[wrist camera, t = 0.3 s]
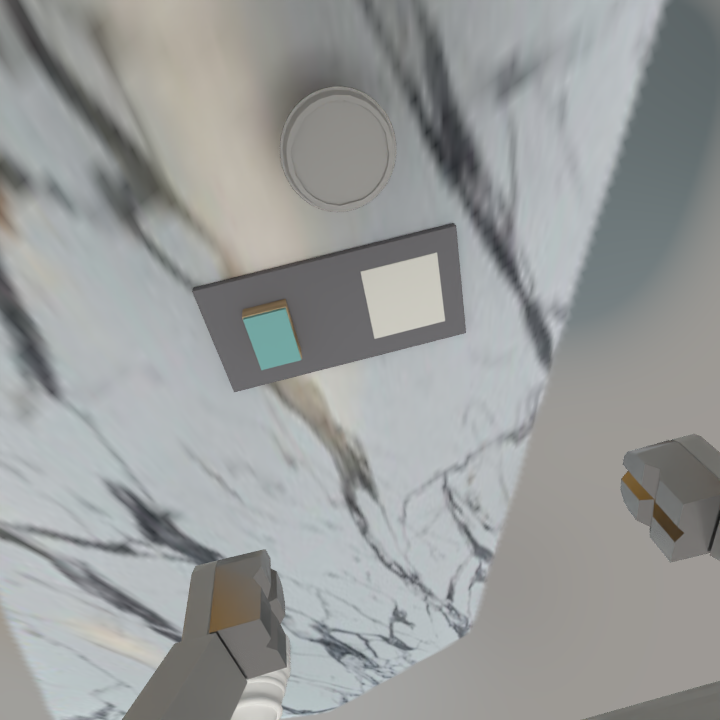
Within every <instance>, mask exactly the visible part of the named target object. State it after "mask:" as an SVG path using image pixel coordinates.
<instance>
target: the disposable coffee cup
mask: <svg viewBox="0 0 720 720" xmlns="http://www.w3.org/2000/svg"><path fill="white" fill-rule="evenodd" d="M280 158H281V164H282V168H283V171H284V174H285V176H286V178H287V180H288V182H289V184H290V185H291V187H292V189H293V190H294V191H295V192H296V193H297V194H298V195H299V196H300V197H301V198H302V199H303V200H305V201H306V202H307V203H309V204H310V205H312V206H314V207H316V208H318V209H322V210H326V211H330V212H345V211H350V210H354V209H357V208H360V207H362V206H364V205H366V204H367V203H369V202H370V201H372V200H373V199H374V198H375V197H376V196H377V195H378V194H379V193H380V192H381V191H382V190H383V188H384V187H385V186H386V184H387V182H388V180H389V178H390V176H391V174H392V171H393V168H394V165H395V158H396V139H395V133H394V130H393V127H392V124H391V122H390V120H389V118H388V116H387V114H386V112H385V111H384V110H383V109H382V108H381V106H380V105H379V104H378V103H377V102H376V101H375V100H374V99H372V98H371V97H370V96H368V95H367V94H365V93H363V92H361V91H359V90H356V89H354V88H349V87H342V86H337V87H326V88H324V89H321V90H318V91H315V92H313V93H311V94H310V95H308V96H307V97H305V98H304V99H302V100H301V101H300V102H299V103H298V104H297V105H296V106H295V107H294V109H293V110H292V112H291V113H290V115H289V116H288V118H287V120H286V123H285V125H284V127H283V131H282V135H281V140H280Z"/></svg>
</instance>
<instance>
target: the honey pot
mask: <svg viewBox="0 0 720 720" xmlns="http://www.w3.org/2000/svg"><path fill="white" fill-rule="evenodd" d="M285 635H286V634H285ZM286 655H287V668H283V669H280V670H277V671H274V672H270V673H267V674H264V675H261V676H257V677H254V678H251V679H247V682H248V683H247V685H246V687H245V689H244V691H243V694H242V696H241V698H240V700H239V702H238V704H237V707H236V709H235V711H234V713H233V715H232V718H231V720H279V719H280V717H281V716H282V711H283V709H282V706H281V703H282V699H283V697H284V696H285V691H286V687H287V680H288V678H289V677H290V670H291V667H290V663H291V662H290V641H289V638H288V636H287V635H286Z"/></svg>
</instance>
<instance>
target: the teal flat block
mask: <svg viewBox="0 0 720 720" xmlns="http://www.w3.org/2000/svg"><path fill="white" fill-rule="evenodd" d="M242 319H243V322H244V324H245V327H246V330H247V332H248V335H249V338H250V340H251V343H252V346H253V349H254V351H255V354H256V357H257V359H258V362H259V365H260V368H261V370H264V369H268V368H272V367H276V366H280V365H284V364H288V363H292V362H296V361H300V360H301V359H302V352H301V347H300V344H299V341H298V338H297V334H296V331H295V328H294V325H293V321H292V318H291V315H290V312H289V308H288V305H287V302H286V299H283V300H279V301H275V302H271V303H267V304H263V305H259V306H255V307H251V308H247V309H243V311H242Z"/></svg>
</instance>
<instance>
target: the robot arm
mask: <svg viewBox="0 0 720 720" xmlns="http://www.w3.org/2000/svg"><path fill="white" fill-rule="evenodd" d="M623 465H624V466H625V467H626V469H627V470H628V471H627V473H626V474H625V475H624V476H623V478H622V479H621V493H622V496H623V499H624V502H625V504H626V506H627V508H628V510H629V511H630V512H631V514H632V515H633V516H634V518H635V519H636V520H637V521H639V522H641V523H643V524H646V525H648V526H650V538H651V539H652V540H653V541H654V543H655V544H656V545H657V546H658V548H659V549H660V550H661V551H662V553H663V554H664V555H665V556H666V557H667V559H668V560H669V561H670V562H674V561H678V560H682V559H687V558H691V557H695V556H699V555H703V554H707V553H710V556H712V557H714V558H716V559H717V560H719V561H720V452H719V451H717V450H716V449H715V448H714V447H713V446H712V445H710V444H709V443H708V442H707V441H706V440H705V439H703V438H702V437H701V436H699V435H696V434H692V435H688V436H684V437H680V438H677V439H673V440H668V441H664V442H660V443H657V444H654V445H650V446H646V447H643V448H639V449H635V450H632V451H628V452H627V453H626V455H625V456H624V462H623ZM284 617H285V600H284V594H283V588H282V585H281V581H280V578H279V576H278V574H277V571H275V570H273V569H271V560H270V557H269V555H268V553H267V551H266V549H265V550H259V551H255V552H251V553H247V554H243V555H239V556H234V557H230V558H226V559H222V560H218V561H214V562H210V563H206V564H202V565H198V566H195V568H194V570H193V573H192V575H191V582H190V588H189V595H188V602H187V608H186V615H185V621H184V628H183V635H182V641H181V642H179V643H176V644H174V645H173V647H172V648H171V650H170V651H169V652H168V654H167V655H166V657H165V658H164V660H163V661H162V663H161V664H160V665H159V667H158V668H157V670H156V671H155V673H154V674H153V676H152V677H151V678H150V680H149V681H148V683H147V684H146V686H145V687H144V689H143V690H142V691H141V693H140V694H139V696H138V697H137V699H136V700H135V702H134V703H133V704H132V706H131V707H130V709H129V710H128V712H127V713H126V715H125V716H124V717H123V719H122V720H231V718H232V715H233V713H234V711H235V709H236V707H237V704H238V702H239V700H240V698H241V696H242V694H243V691H244V689H245V687H246V685H247V683H248V682H247V679H251V678H254V677H257V676H261V675H264V674H267V673H270V672H274V671H277V670H280V669H283V668H287V655H286V635H285V633H284V631H283V629H282V627H281V625H280V624H281V622H282V620H283V618H284ZM583 720H720V681H718V682H714V683H711V684H707V685H703V686H700V687H696V688H693V689H689V690H685V691H682V692H678V693H675V694H671V695H668V696H664V697H661V698H657V699H654V700H650V701H646V702H643V703H639V704H636V705H633V706H629V707H625V708H622V709H618V710H614V711H611V712H607V713H604V714H601V715H597V716H593V717H590V718H586V719H583Z"/></svg>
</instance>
